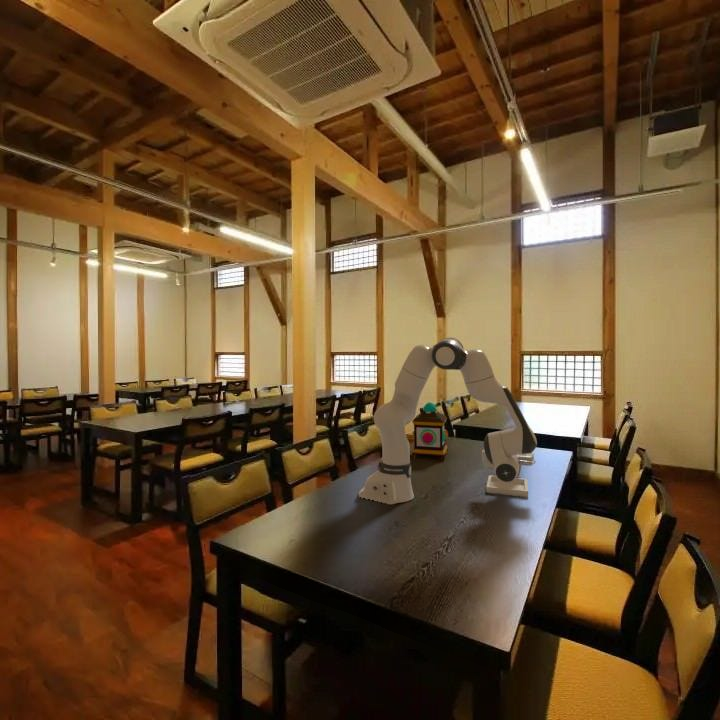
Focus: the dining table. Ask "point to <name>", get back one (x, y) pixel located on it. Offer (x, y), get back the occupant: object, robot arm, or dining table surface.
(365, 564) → the dining table surface
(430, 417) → the decorative lantern
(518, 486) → the bin
